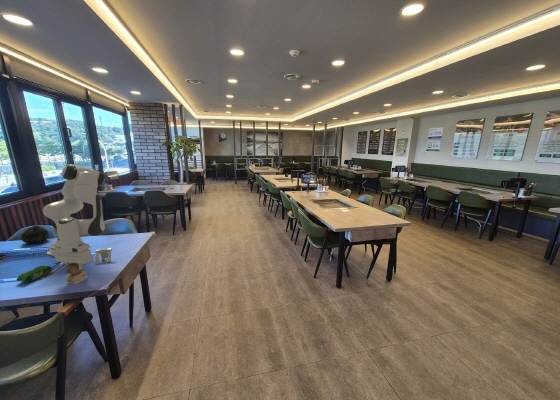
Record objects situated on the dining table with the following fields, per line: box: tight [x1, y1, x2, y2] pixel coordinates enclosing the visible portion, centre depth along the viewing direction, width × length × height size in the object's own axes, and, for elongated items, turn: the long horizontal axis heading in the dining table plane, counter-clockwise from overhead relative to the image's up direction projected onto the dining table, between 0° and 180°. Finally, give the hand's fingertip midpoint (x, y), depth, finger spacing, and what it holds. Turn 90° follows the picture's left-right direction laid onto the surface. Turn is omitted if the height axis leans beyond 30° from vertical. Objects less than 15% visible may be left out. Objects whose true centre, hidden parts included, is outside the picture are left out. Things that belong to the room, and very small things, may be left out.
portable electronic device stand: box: [93, 248, 113, 265], centre depth 152 cm, size 9×8×8 cm
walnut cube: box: [65, 263, 85, 275], centre depth 128 cm, size 5×5×5 cm
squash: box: [20, 225, 50, 244], centre depth 180 cm, size 14×15×15 cm
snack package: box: [16, 265, 53, 283], centre depth 131 cm, size 7×16×5 cm, turn 175°
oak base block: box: [65, 270, 88, 284], centre depth 129 cm, size 6×6×4 cm
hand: (75, 268), depth 128 cm, fingers closed on walnut cube, 5 cm apart
